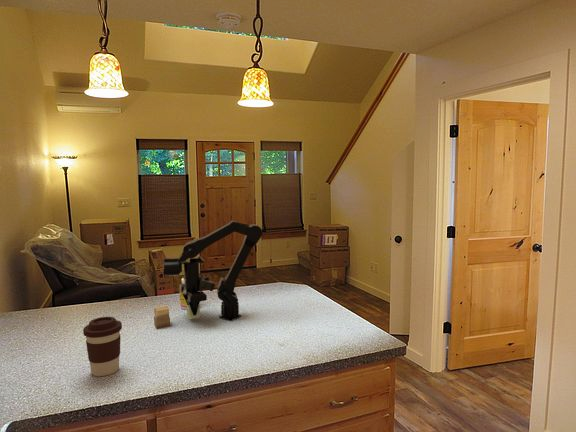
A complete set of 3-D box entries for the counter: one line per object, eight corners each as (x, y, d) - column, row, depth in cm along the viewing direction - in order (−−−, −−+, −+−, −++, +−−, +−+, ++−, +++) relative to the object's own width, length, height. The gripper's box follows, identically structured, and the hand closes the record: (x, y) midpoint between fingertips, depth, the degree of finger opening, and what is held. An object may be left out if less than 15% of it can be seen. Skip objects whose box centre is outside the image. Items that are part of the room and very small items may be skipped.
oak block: (169, 317, 145) (168, 308, 144) (156, 320, 142) (156, 310, 142) (166, 314, 149) (166, 305, 148) (154, 316, 146) (154, 307, 146)
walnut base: (170, 327, 145) (170, 318, 144) (156, 329, 142) (156, 320, 142) (167, 322, 149) (167, 314, 149) (154, 325, 147) (153, 316, 147)
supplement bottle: (179, 306, 168) (177, 277, 167) (194, 304, 171) (193, 275, 170) (181, 311, 162) (180, 281, 161) (197, 308, 165) (196, 279, 164)
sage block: (199, 316, 150) (199, 306, 149) (189, 318, 148) (189, 308, 147) (197, 313, 153) (197, 304, 153) (187, 315, 151) (186, 305, 151)
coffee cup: (129, 362, 116) (126, 313, 115) (115, 379, 106) (112, 326, 105) (95, 363, 116) (92, 314, 115) (79, 380, 106) (75, 327, 105)
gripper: (219, 276, 144) (220, 317, 146) (205, 267, 161) (207, 303, 162) (189, 280, 139) (191, 322, 141) (178, 270, 156) (180, 308, 157)
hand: (193, 313), depth 150 cm, fingers closed on sage block, 4 cm apart
